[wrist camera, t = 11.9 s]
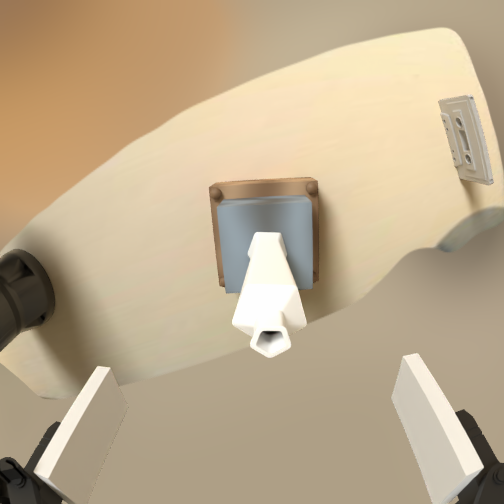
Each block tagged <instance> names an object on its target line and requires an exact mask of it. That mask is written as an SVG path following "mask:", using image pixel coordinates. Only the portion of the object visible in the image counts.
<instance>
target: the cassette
mask: <svg viewBox="0 0 504 504" xmlns="http://www.w3.org/2000/svg"><path fill="white" fill-rule="evenodd" d="M438 103H439V105H440V108H441V112H442V113H441V117H442V121H443V124H444V127H445V131H446V134H447V138H448V141H449V145H450V149H451V153H452V157H453V161H454V165H455V167H457V171H458V175H459V178H460V179H464V180H468V181H473V182H477V183H481V184H485V185H491V184H493V183H494V181H493V176H492V170H491V164H490V159H489V154H488V150H487V145H486V141H485V137H484V133H483V129H482V125H481V121H480V118H479V114H478V111H477V108H476V104H475V101H474V98H473V96H472V95H465V96H460V97H454V98H450V99H448V98H447V99H443V100H440V101H438Z"/></svg>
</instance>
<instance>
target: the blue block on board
mask: <svg viewBox="0 0 504 504" xmlns="http://www.w3.org/2000/svg"><path fill="white" fill-rule="evenodd" d="M209 193H210V203H211V213H212V223H213V232H214V241H215V250H216V259H217V268H218V276H219V284H220V286H222V287H225V290H226V293H241V290H242V286H243V283H244V279H245V276H246V272H247V269H248V266H249V262H250V258H249V256H248V250H249V248H250V245H251V242H252V239H253V236H254V234H255V233H256V232H276V233H281V235H282V238H283V241H284V245H285V248H286V252H287V257H286V260H287V262H288V265H289V268H290V270H291V273H292V275H293V278H294V280H295V283H296V286H297V288H298V290H303V289H313V283H314V282H316V281H318V280H319V213H318V181H317V180H315V179H313V178H311V177H305V178H280V179H262V180H246V181H232V182H220V183H215V184H213V185H212V186H210V187H209Z"/></svg>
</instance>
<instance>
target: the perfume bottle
mask: <svg viewBox="0 0 504 504" xmlns="http://www.w3.org/2000/svg"><path fill="white" fill-rule="evenodd" d="M248 256H249V258H250V262H249V266H248V269H247V272H246V276H245V279H244V283H243V286H242V290H241V293H240V296H239V300H238V303H237V307H236V310H235V313H234V317H233V320H232V324H233V325H234V326H235V327H237V328H238V329H240V330H241V331H243V332H245V333H246V334H248V335H249V336H251V337H253V338H252V340H251V343H250V346H251V347H252V348H253V349H254V350H256V351H258V352H259V353H261V354H263V355H265V356H266V357H269V358H271V357H274V356H276V355H278V354H280V353H282V352H284V351H285V350H287V349H289V348H290V347H291V342H290V338H289V336H290V335H292V334H293V333H295V332H297V331H299V330H300V329H302V328H304V327H305V326H306V325H307V321H306V318H305V314H304V310H303V306H302V303H301V299H300V295H299V292H298V288H297V286H296V283H295V280H294V278H293V275H292V273H291V270H290V268H289V265H288V262H287V260H286V257H287V252H286V248H285V245H284V241H283V238H282V235H281V233H276V232H256V233H255V234H254V236H253V239H252V242H251V245H250V248H249V250H248Z"/></svg>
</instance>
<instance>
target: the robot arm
mask: <svg viewBox="0 0 504 504" xmlns="http://www.w3.org/2000/svg"><path fill="white" fill-rule="evenodd" d="M54 307H55V299H54V293H53V289H52V286H51V283H50V280H49V278H48V276H47V274H46V272H45V271H44V269H43V267H42V266H41V265H40V263H39V262H38V261H37V260H36V259H35V258H34V257H33V256H32V255H31V254H29V253H28V252H26V251H24V250H20V249H14V250H12V251H10V252H8V253H6V254H4V255H3V256H2V257H1V258H0V352H1V351H2V350H3V349H4V348H5V347H6V346H7V345H8V344H9V343H10V342H11V341H12V340H13V339H14V338H15V337H16V336H17V335H18V334H20V333H21V332H24V331H27V330H30V329H33V328H36V327H39V326H41V325H43V324H44V323H45V322H46V321H47V320H49V319H50V317H51V316H52V314H53V312H54ZM391 399H392V402H393V404H394V406H395V409H396V411H397V413H398V416H399V418H400V420H401V423H402V425H403V427H404V430H405V432H406V435H407V437H408V440H409V442H410V445H411V447H412V449H413V452H414V455H415V457H416V460H417V462H418V465H419V468H420V470H421V473H422V476H423V478H424V481H425V484H426V486H427V489H428V492H429V495H430V498H431V501H432V504H446V503H448V502H451V501H452V500H453V499H454V498H455V497H456V496H458V498H459V501H458V502H457V503H456V504H504V463H500V462H499V461H498V460H497V458H496V456H495V454H494V453H493V451H492V449H491V447H490V446H489V444H488V442H487V440H486V438H485V437H484V435H482V431H481V430H480V428H479V427H478V425H477V423H476V421H475V420H474V418H473V416H471V415H470V414H469V413H468V412H466V411H465V410H461V411H458V412H455V413H454V411H453V409H452V407H451V406H450V404H449V402H448V401H447V399H446V397H445V396H444V394H443V392H442V391H441V389H440V387H439V386H438V384H437V383H436V381H435V379H434V378H433V376H432V375H431V373H430V371H429V370H428V368H427V367H426V365H425V364H424V362H423V361H422V359H421V358H420V356H419V354H418V353H417V354H412V355H406V356H403V358H402V362H401V367H400V370H399V374H398V377H397V380H396V384H395V387H394V391H393V394H392V397H391ZM127 409H128V405H127V403H126V401H125V399H124V397H123V395H122V392H121V390H120V388H119V386H118V384H117V381H116V379H115V377H114V374H113V372H112V370H111V368H110V367H101V366H97V368H96V369H95V371H94V372H93V374H92V375H91V377H90V378H89V380H88V381H87V383H86V384H85V386H84V387H83V389H82V391H81V392H80V394H79V395H78V397H77V398H76V400H75V402H74V403H73V405H72V406H71V408H70V410H69V411H68V413H67V415H66V416H65V418H64V419H63V421H62V423H60V422H55V423H54V424H53V425H51V426H50V427H49V428H48V429H47V431H46V433H45V434H44V436H43V438H42V439H41V441H40V443H39V445H38V446H37V448H36V449H35V451H34V453H33V455H32V456H31V458H30V460H29V461H28V463H27V465H26V466H25V468H24V469H23V468H22V467H21V466H20V465H19V464H18V463H17V461H16V460H15V459H13V458H11V457H5V458H3V459H1V460H0V504H61V502H62V500H64V501H66V502H67V503H68V504H88V501H89V498H90V496H91V493H92V491H93V488H94V486H95V484H96V481H97V478H98V476H99V474H100V471H101V469H102V466H103V464H104V462H105V459H106V457H107V455H108V452H109V450H110V448H111V445H112V443H113V441H114V439H115V436H116V434H117V432H118V429H119V427H120V425H121V423H122V421H123V418H124V416H125V414H126V412H127Z"/></svg>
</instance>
